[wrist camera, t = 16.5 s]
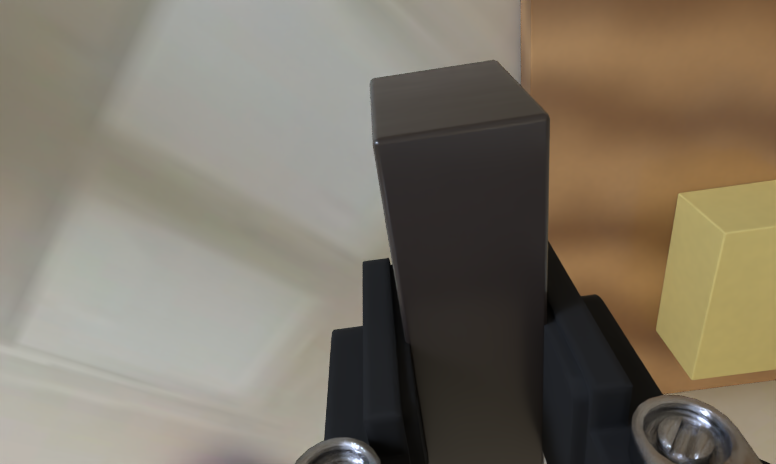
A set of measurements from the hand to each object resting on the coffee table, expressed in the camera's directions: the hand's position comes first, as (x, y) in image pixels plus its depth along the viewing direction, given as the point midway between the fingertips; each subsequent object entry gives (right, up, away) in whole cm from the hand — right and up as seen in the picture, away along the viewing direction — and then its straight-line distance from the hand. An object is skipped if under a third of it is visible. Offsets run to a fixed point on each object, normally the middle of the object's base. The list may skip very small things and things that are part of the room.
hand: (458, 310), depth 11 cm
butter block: (+14, 0, +14) cm, 20 cm away
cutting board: (+14, +3, +15) cm, 20 cm away
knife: (+1, -4, +3) cm, 5 cm away
